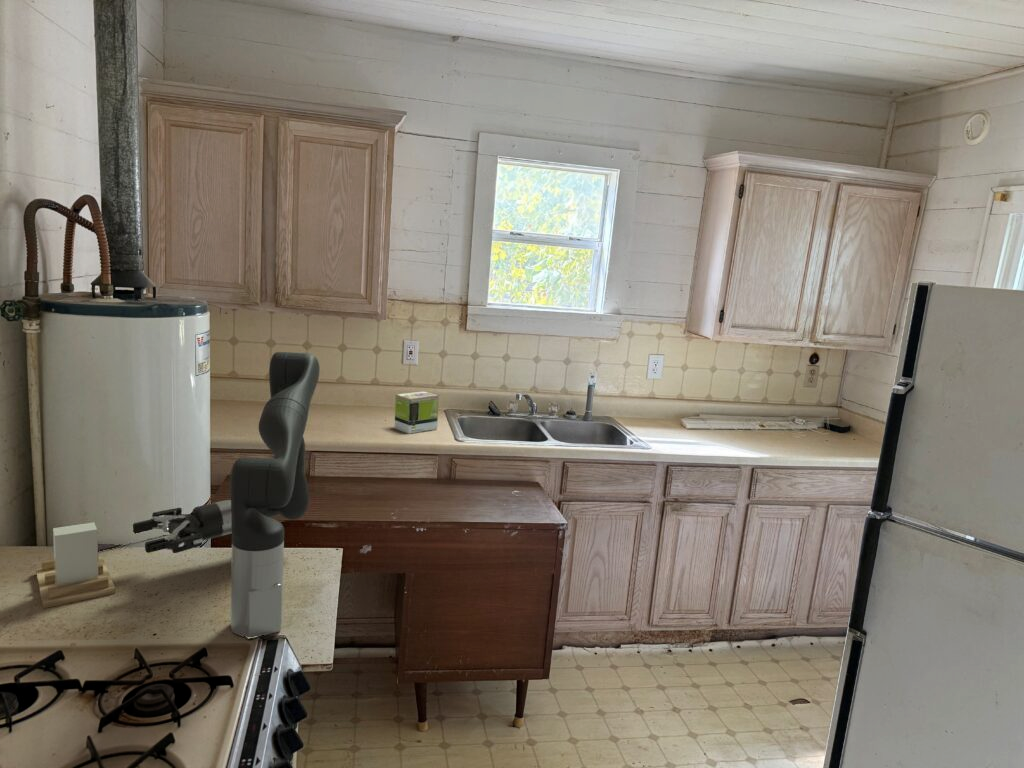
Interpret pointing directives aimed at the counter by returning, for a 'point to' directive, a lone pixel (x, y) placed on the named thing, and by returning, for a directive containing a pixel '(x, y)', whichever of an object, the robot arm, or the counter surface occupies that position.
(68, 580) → the clay slab
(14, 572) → the counter surface
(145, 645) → the counter surface
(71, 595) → the rack
